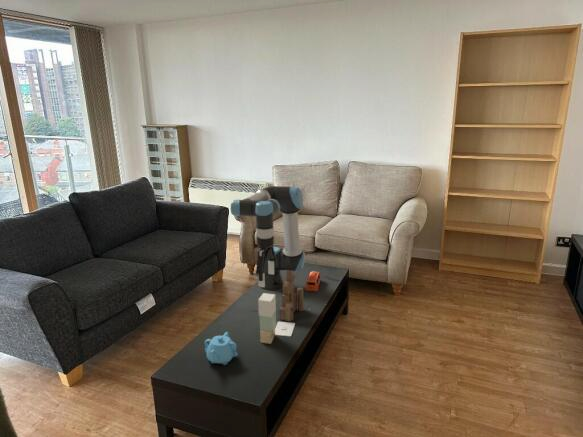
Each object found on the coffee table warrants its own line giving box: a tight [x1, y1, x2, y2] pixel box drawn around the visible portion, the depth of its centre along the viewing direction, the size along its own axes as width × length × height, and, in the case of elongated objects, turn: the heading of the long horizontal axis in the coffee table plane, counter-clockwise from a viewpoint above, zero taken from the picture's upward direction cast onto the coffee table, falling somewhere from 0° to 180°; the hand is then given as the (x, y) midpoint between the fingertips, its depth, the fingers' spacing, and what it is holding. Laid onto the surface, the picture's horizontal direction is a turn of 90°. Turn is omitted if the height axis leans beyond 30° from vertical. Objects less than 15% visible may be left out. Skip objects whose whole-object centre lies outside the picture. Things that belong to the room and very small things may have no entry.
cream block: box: [257, 292, 277, 317], centre depth 188 cm, size 7×6×8 cm
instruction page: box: [275, 321, 296, 337], centre depth 201 cm, size 12×9×1 cm
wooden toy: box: [278, 270, 304, 323], centre depth 212 cm, size 16×7×25 cm, turn 150°
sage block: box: [259, 309, 277, 331], centre depth 191 cm, size 6×6×8 cm
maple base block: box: [259, 326, 276, 344], centre depth 192 cm, size 7×5×6 cm
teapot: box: [204, 331, 239, 366], centre depth 176 cm, size 13×14×11 cm
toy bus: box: [305, 270, 322, 293], centre depth 247 cm, size 7×18×7 cm, turn 168°
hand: (266, 280), depth 185 cm, fingers open, 13 cm apart
